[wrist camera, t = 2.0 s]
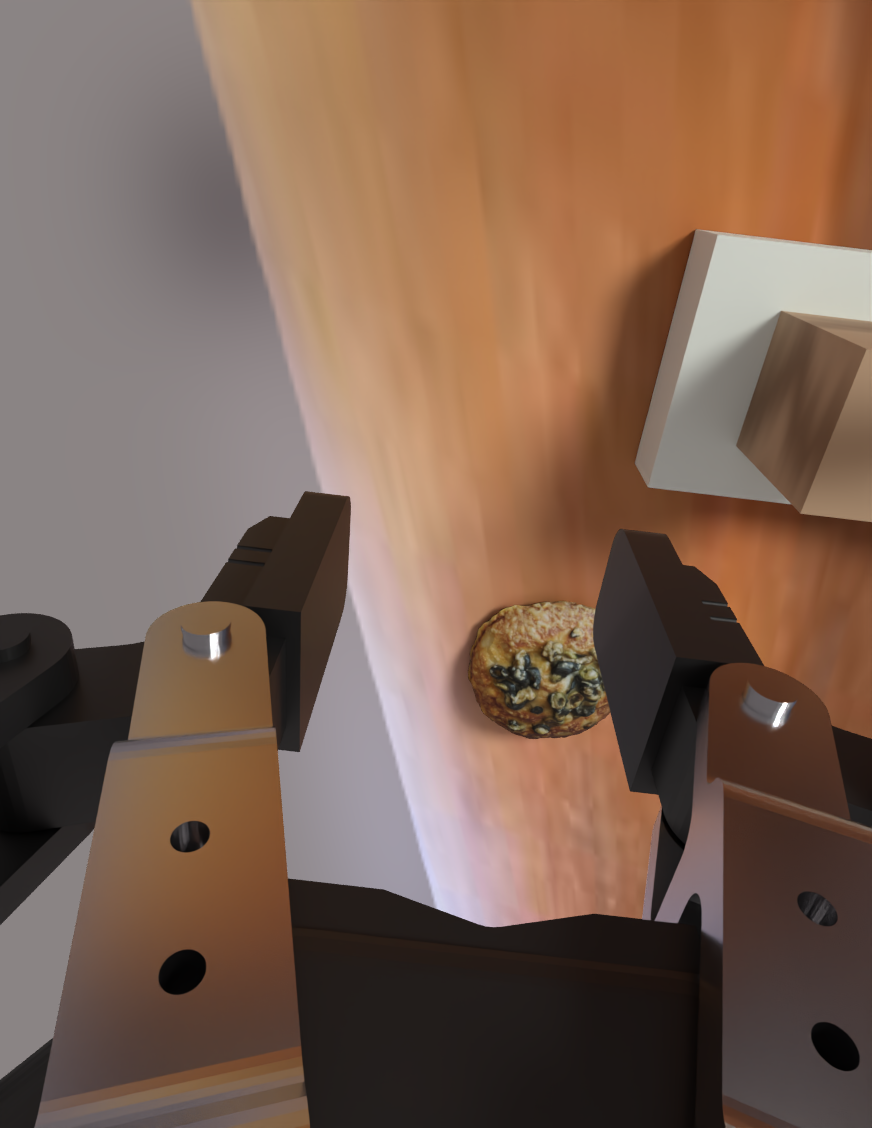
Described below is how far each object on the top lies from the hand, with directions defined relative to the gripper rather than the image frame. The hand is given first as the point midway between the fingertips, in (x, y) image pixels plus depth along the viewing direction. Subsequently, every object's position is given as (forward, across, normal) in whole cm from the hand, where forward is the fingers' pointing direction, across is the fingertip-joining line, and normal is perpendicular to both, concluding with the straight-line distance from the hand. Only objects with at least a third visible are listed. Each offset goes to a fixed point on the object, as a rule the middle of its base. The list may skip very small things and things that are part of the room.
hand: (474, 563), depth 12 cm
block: (+24, -17, +2) cm, 29 cm away
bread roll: (+28, -8, +22) cm, 36 cm away
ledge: (+27, -18, +2) cm, 33 cm away
